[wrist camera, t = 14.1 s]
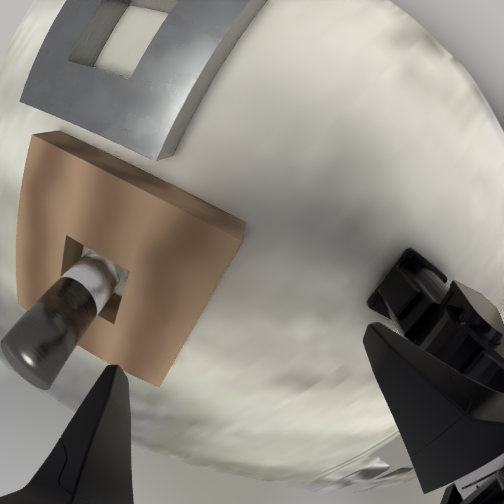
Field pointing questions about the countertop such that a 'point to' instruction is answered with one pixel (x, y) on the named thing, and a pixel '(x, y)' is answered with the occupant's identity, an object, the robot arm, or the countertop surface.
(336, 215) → the countertop surface
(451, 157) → the countertop surface
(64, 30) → the socket block
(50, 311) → the dark rounded cylinder
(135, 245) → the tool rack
